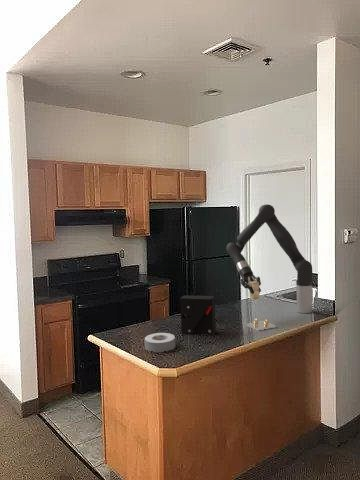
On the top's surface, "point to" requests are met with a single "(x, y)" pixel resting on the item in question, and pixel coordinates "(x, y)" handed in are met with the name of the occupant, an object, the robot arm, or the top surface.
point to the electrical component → (198, 315)
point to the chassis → (261, 325)
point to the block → (255, 290)
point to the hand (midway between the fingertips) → (256, 292)
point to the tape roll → (160, 342)
